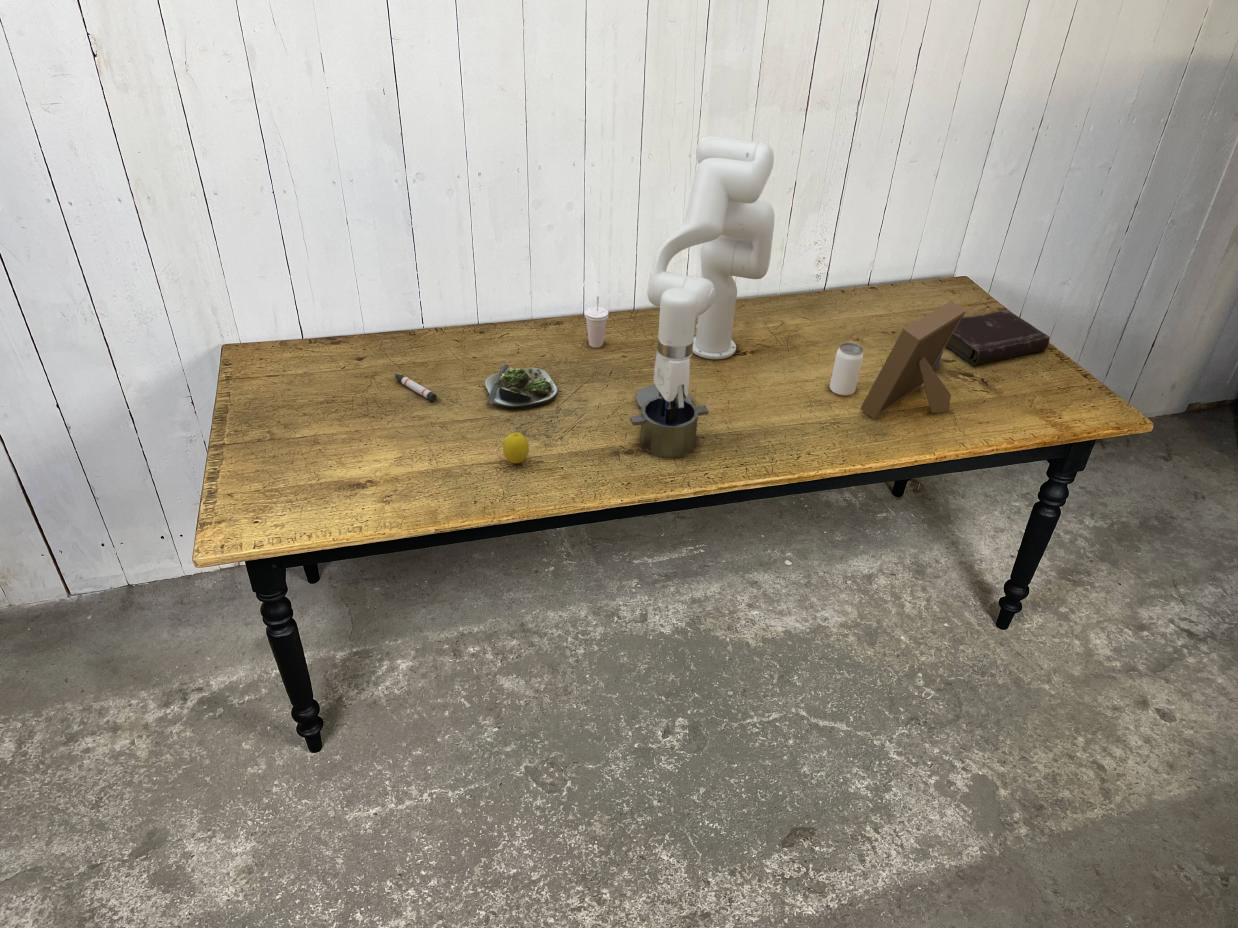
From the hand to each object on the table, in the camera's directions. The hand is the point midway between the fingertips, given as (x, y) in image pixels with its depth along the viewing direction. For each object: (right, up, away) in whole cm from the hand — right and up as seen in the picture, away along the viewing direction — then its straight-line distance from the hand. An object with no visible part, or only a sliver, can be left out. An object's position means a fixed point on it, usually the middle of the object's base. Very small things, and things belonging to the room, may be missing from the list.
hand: (669, 418), depth 194 cm
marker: (-62, +8, +19) cm, 65 cm away
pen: (0, -4, +3) cm, 4 cm away
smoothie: (-18, +22, +40) cm, 49 cm away
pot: (0, -5, +4) cm, 7 cm away
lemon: (-34, -10, -4) cm, 36 cm away
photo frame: (+60, +3, +19) cm, 63 cm away
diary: (+92, +23, +47) cm, 105 cm away
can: (+45, +8, +25) cm, 53 cm away
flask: (+71, +15, +35) cm, 81 cm away
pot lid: (0, +5, +17) cm, 18 cm away
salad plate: (-36, +7, +19) cm, 41 cm away
